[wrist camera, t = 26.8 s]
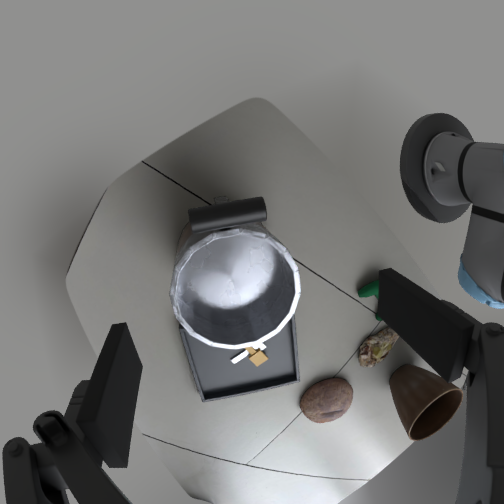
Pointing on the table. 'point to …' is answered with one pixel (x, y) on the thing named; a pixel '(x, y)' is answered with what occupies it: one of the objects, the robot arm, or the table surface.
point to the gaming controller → (370, 292)
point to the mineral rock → (377, 347)
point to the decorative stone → (327, 400)
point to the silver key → (245, 352)
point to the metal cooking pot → (233, 276)
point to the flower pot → (423, 400)
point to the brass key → (256, 356)
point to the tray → (242, 365)
